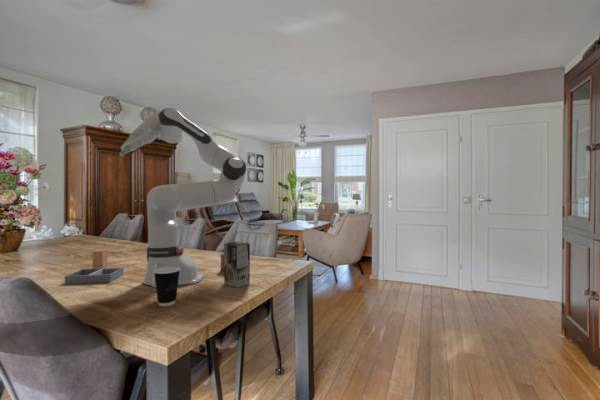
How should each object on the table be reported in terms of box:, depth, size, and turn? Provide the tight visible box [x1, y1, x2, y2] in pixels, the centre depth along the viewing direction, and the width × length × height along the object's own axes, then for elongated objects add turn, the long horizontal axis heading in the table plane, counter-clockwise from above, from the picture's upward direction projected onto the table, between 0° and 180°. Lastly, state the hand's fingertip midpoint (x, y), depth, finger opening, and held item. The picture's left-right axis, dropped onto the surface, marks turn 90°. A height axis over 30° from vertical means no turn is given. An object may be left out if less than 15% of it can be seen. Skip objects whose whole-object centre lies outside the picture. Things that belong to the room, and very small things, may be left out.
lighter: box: [220, 248, 224, 272], centre depth 134 cm, size 8×3×10 cm, turn 71°
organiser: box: [64, 267, 124, 285], centre depth 120 cm, size 16×12×3 cm
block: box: [92, 249, 108, 269], centre depth 131 cm, size 4×4×10 cm
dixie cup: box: [153, 267, 180, 307], centre depth 93 cm, size 8×8×11 cm
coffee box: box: [223, 241, 251, 289], centre depth 114 cm, size 9×6×16 cm
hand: (126, 152), depth 130 cm, fingers open, 8 cm apart
